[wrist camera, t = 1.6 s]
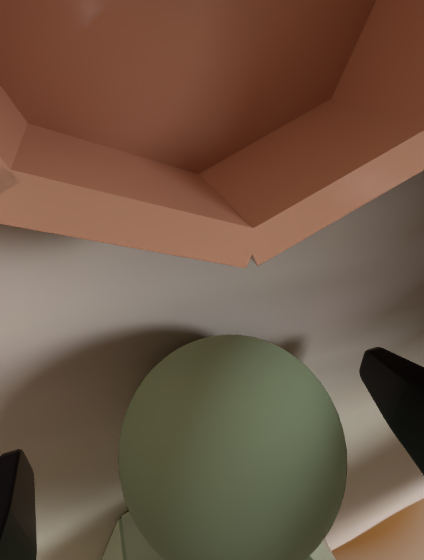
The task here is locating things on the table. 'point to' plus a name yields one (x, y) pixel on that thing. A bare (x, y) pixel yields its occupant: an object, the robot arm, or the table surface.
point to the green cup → (140, 555)
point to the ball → (232, 454)
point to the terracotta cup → (206, 119)
